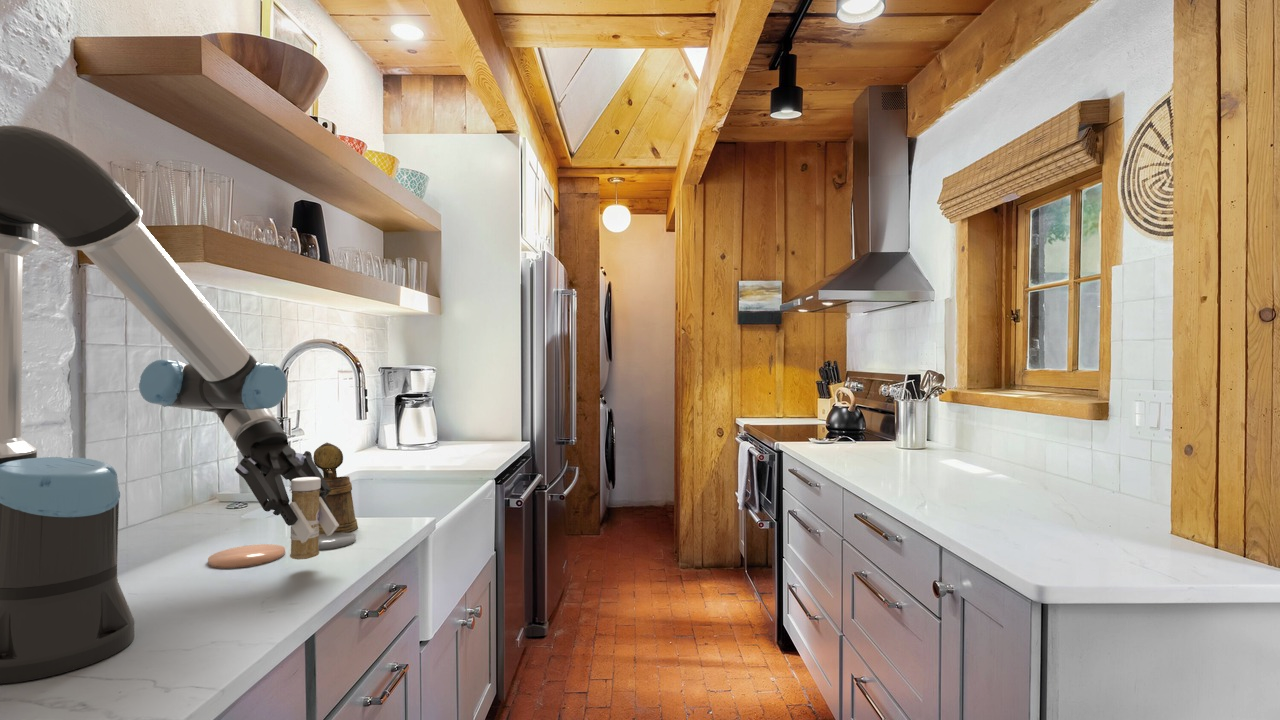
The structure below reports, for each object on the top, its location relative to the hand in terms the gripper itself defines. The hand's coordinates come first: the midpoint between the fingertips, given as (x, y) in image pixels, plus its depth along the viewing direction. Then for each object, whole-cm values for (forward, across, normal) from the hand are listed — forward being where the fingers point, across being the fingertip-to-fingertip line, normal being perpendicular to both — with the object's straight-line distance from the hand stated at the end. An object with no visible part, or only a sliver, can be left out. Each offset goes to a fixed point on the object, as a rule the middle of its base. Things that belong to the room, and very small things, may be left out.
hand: (320, 533), depth 107 cm
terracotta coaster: (-9, -1, -18) cm, 21 cm away
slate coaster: (-6, -14, -15) cm, 21 cm away
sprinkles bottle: (0, 0, -6) cm, 6 cm away
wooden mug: (-12, -23, -21) cm, 33 cm away
